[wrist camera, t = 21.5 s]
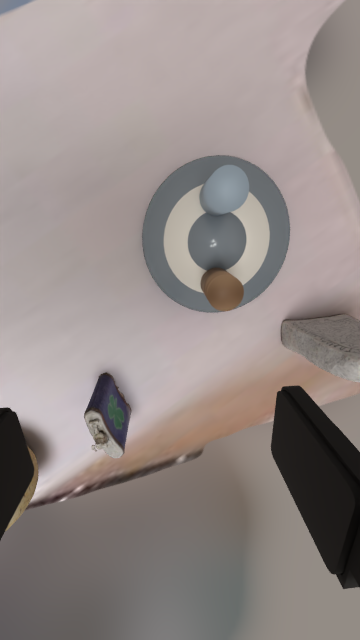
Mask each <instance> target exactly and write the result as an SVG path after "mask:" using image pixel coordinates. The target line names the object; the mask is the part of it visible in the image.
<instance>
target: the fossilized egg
mask: <svg viewBox="0 0 360 640" xmlns="http://www.w3.org/2000/svg"><path fill="white" fill-rule="evenodd" d="M27 447H28V446H27ZM28 450H29V453H30V456H31V459H32V462H33V465H34V476H33V479H32V481H31V483H30V485H29V487H28V488H27V490H26V492H25V494H24V496H23V498H22V500H21V502H20V504H19V506H18V508H17V509H16V511H15V513H14V515H13V517H12V519H11V521H10V523H9V525H8V527H7V528H6V530H7V529H8V528H9V527H10V526H11V525H12V524H13V523H14V522H15V521H16V520H17V519H18V518H19V517H20V516H21V514H22V513H23V512H24V510H25V509H26V507H27V506H28V504H29V502H30V500H31V499H32V497H33V495H34V492H35V489H36V485H37V481H38V464H37V460H36V457H35V455H34V453H33V452H32V450H31V449H30V448H29V447H28ZM6 530H5V531H6Z"/></svg>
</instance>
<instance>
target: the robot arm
mask: <svg viewBox="0 0 360 640" xmlns="http://www.w3.org/2000/svg"><path fill="white" fill-rule="evenodd" d="M271 451H272V455H273V458H274V460H275V462H276V464H277V466H278V468H279V470H280V472H281V474H282V476H283V478H284V481H285V483H286V484H287V486H288V488H289V491H290V493H291V495H292V497H293V499H294V501H295V503H296V505H297V507H298V509H299V511H300V513H301V515H302V517H303V520H304V522H305V524H306V526H307V528H308V530H309V532H310V534H311V536H312V538H313V540H314V542H315V544H316V546H317V548H318V550H319V552H320V554H321V557H322V559H323V561H324V563H325V565H326V567H327V568H328V570H329V571H330V572H331V573H332V574H336V575H337V577H338V579H339V581H340V583H341V585H342V587H343V589H347V588H355V587H360V452H359V451H358V450H357V448H356V447H355V446H354V445H353V444H352V443H351V442H350V441H349V440H348V438H347V437H346V436H345V435H344V434H343V433H342V432H341V430H340V429H339V428H338V427H337V426H336V425H335V424H334V423H333V422H332V421H331V420H330V419H329V418H328V417H327V416H326V414H325V413H324V412H323V411H322V410H321V409H320V408H319V407H318V405H317V404H316V403H315V402H314V401H313V400H312V399H311V397H310V396H309V395H308V394H307V393H306V392H305V391H304V390H303V388H302V387H300V386H286V387H282V389H281V391H278V392H277V398H276V407H275V416H274V425H273V433H272V443H271ZM33 476H34V465H33V462H32V459H31V456H30V453H29V450H28V447H27V444H26V441H25V438H24V435H23V432H22V429H21V426H20V423H19V420H18V417H17V414H16V413H15V412H13V411H12V410H11V409H10V408H0V540H1V538H2V536H3V534H4V532H5V530H6V528H7V527H8V525H9V523H10V521H11V519H12V517H13V515H14V513H15V511H16V509H17V508H18V506H19V504H20V502H21V500H22V498H23V496H24V494H25V492H26V490H27V488H28V487H29V485H30V483H31V481H32V479H33Z"/></svg>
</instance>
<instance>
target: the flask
mask: <svg viewBox="0 0 360 640" xmlns="http://www.w3.org/2000/svg"><path fill="white" fill-rule="evenodd" d="M118 388H119V387H117V386H116V385H115V381H114V379H113V377H112V375H110V374H107V373H105V374H101V375H100V376H99V379H98V382H97V384H96V386H95V389H94V392H93V395H92V397H91V399H90V402H89V404H88V407H87V409H86V411H85V413H84V419H85V421H86V424H87V426H88V429H89V431H90V433H91V435H92V436H93V439H94V440H95V442H96V444H95V445H96V448H97V449H103V450H104V451H105V452H106V453H107V454H108V455H109V456H110V457H112V458H119V457H121V456H122V455H123V454H124V449H125V442H126V436H127V431H128V425H129V420H130V415H131V409H130V406H129V404H127V403H126V401H125V399H124V396H123V394H122V393H121V392H120V391H119V390H118ZM95 445H92V450H95ZM95 451H97V450H95Z"/></svg>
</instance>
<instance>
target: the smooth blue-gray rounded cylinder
mask: <svg viewBox="0 0 360 640" xmlns="http://www.w3.org/2000/svg"><path fill="white" fill-rule="evenodd" d="M248 193H249V181H248V178H247V176H246V174H245V172H244V171H243V170H242V169H241V168H239V167H237V166H235V165H224V166H221V167H220V168H218V169H217V170H216V171H215V172H214V173H213V174H212V175H211V176H210V177H209V179H208V180H207V181H206V182H205V184H204V185H203V186H202V188H201V191H200V195H199V199H200V204H201V207H202V208H203V210H204V211H205V212H206V213H208V214H209V215H212V216H219V215H223V214H226V213H229V212H232V211H235V210H237V209H238V208H240V207H241V206H242V205H243V204H244V202H245V201H246V199H247V196H248Z"/></svg>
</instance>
